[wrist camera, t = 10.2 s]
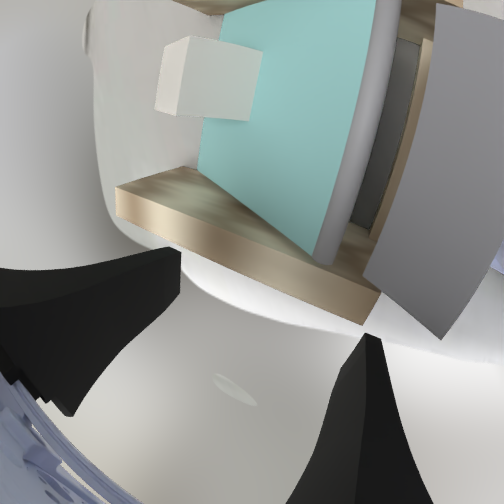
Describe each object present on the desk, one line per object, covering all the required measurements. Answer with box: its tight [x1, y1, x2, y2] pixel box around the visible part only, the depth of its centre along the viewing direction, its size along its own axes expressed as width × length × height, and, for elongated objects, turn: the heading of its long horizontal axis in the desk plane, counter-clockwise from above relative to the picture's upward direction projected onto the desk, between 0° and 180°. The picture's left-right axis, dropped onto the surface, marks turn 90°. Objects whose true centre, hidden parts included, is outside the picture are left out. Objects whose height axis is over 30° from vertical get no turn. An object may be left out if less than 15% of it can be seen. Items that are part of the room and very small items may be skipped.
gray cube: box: [155, 35, 263, 121], centre depth 12 cm, size 4×4×4 cm
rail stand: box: [115, 0, 463, 325], centre depth 12 cm, size 17×17×7 cm
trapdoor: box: [197, 0, 504, 340], centre depth 11 cm, size 18×12×4 cm, turn 80°
